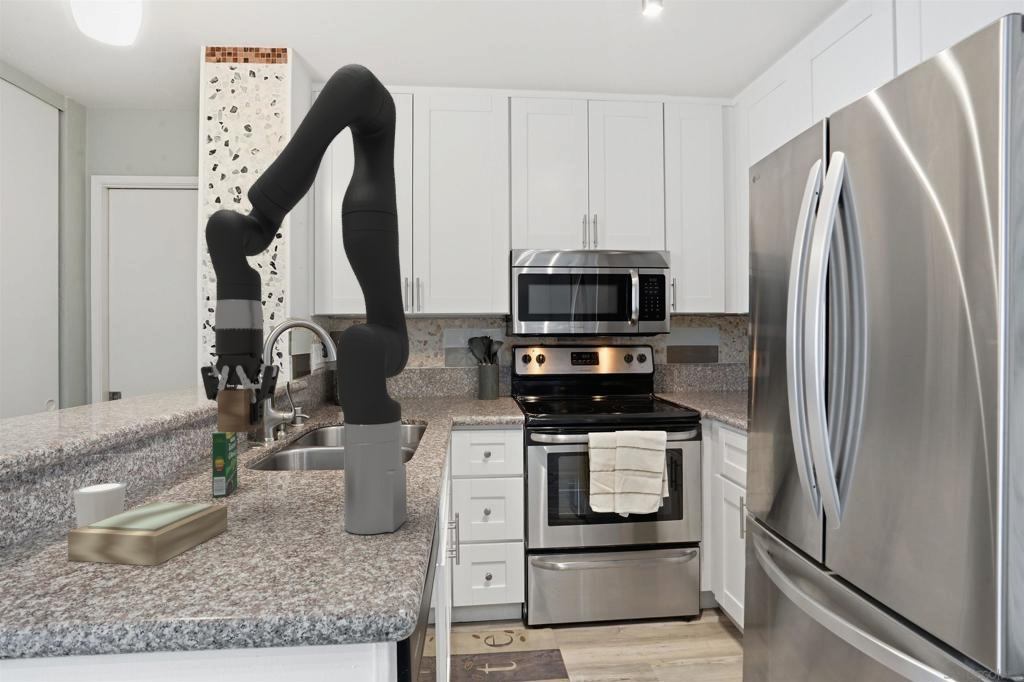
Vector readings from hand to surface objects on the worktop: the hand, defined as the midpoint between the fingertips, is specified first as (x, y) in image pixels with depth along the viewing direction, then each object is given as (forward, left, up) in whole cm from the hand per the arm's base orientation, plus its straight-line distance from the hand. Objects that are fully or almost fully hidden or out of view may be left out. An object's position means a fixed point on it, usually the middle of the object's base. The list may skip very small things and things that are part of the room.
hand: (240, 423), depth 91 cm
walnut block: (0, 0, -1) cm, 1 cm away
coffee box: (+14, -14, -16) cm, 26 cm away
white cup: (+19, +9, -16) cm, 27 cm away
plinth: (+5, +13, -16) cm, 21 cm away
